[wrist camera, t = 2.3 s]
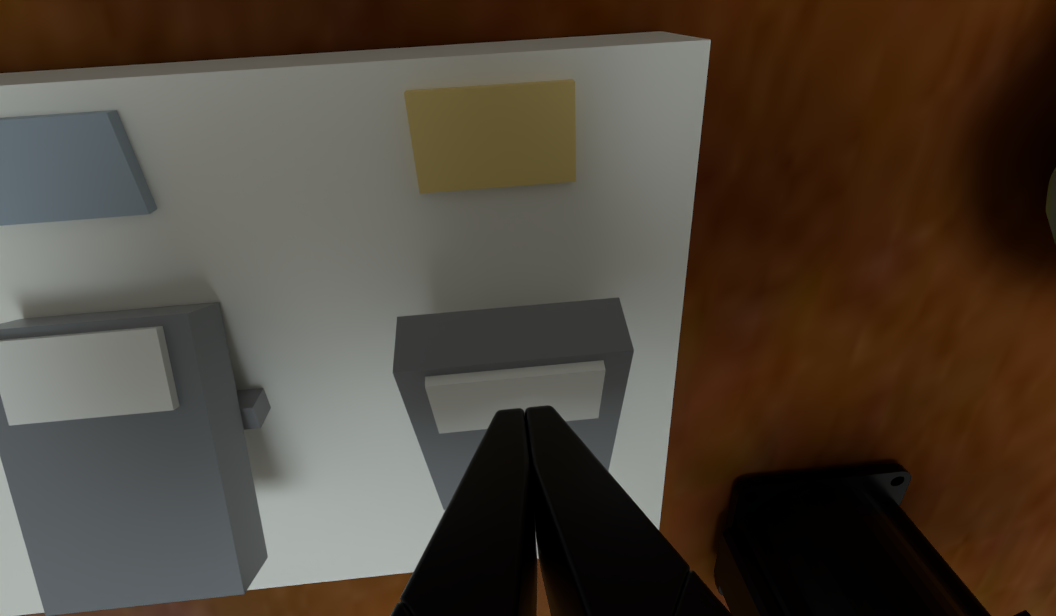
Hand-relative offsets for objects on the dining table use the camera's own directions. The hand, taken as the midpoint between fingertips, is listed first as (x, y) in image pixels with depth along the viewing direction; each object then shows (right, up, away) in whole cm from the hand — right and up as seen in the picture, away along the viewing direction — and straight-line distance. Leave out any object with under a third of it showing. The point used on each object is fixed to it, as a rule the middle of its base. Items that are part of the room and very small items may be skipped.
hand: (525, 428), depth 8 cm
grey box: (-8, -1, +3) cm, 9 cm away
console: (-9, +1, +7) cm, 11 cm away
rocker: (0, -1, +3) cm, 3 cm away
